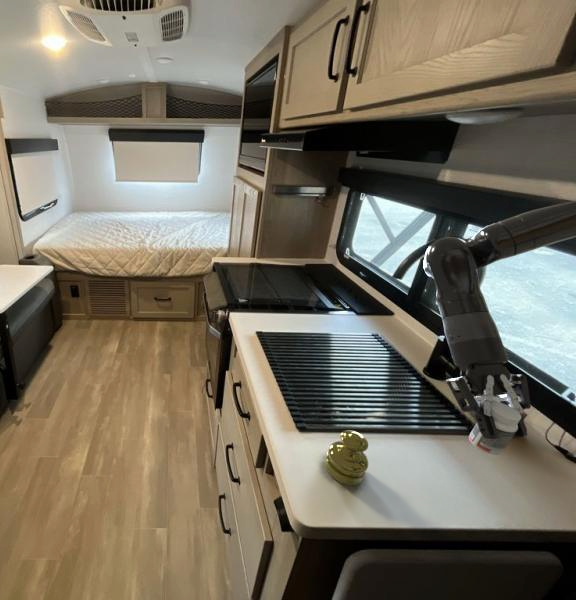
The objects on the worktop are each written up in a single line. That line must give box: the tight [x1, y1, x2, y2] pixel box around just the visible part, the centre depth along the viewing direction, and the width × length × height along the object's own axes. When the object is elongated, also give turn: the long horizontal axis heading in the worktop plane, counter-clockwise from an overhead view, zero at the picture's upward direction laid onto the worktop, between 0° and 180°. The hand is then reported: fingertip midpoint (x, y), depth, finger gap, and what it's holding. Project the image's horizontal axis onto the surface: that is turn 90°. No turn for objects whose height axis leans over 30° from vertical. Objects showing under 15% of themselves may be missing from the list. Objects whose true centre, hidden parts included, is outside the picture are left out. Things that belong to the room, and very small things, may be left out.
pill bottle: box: [468, 402, 521, 456], centre depth 59 cm, size 5×5×8 cm
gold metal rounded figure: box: [324, 429, 369, 486], centre depth 68 cm, size 7×7×10 cm
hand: (505, 437), depth 57 cm, fingers closed on pill bottle, 4 cm apart
